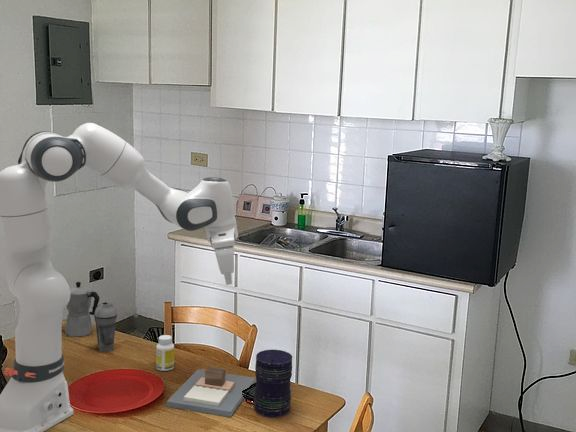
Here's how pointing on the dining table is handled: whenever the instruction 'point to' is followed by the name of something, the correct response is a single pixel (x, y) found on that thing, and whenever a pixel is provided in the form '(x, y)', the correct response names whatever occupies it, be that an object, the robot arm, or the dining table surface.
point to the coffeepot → (80, 311)
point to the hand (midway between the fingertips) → (228, 277)
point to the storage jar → (273, 383)
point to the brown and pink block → (215, 379)
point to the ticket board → (210, 395)
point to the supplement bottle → (165, 353)
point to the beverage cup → (105, 325)
